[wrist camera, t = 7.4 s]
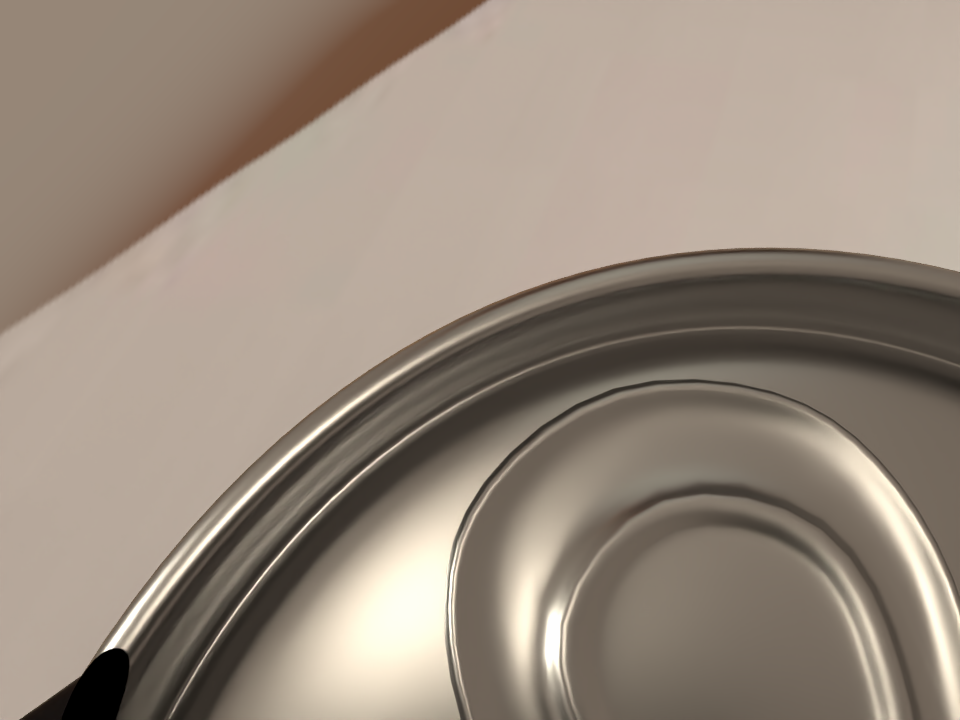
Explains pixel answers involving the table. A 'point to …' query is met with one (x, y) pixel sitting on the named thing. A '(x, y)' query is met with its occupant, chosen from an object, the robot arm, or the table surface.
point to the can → (593, 516)
